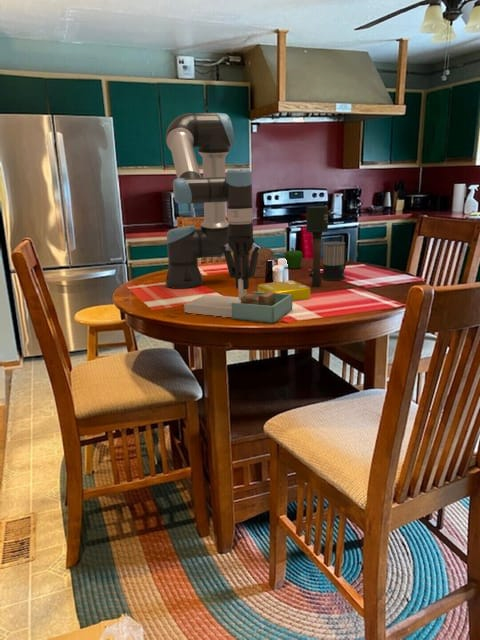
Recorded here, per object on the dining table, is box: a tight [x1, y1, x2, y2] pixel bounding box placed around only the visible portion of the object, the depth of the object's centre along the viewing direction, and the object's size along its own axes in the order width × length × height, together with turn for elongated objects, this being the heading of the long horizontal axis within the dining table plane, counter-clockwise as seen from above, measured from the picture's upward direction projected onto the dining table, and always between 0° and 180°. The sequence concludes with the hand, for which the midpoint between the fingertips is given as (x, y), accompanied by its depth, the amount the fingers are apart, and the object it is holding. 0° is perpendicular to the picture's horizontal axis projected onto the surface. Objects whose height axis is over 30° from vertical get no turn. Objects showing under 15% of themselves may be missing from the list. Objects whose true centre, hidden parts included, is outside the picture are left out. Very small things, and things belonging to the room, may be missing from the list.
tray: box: [231, 291, 293, 324], centre depth 147 cm, size 14×16×5 cm
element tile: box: [257, 280, 311, 302], centre depth 169 cm, size 15×15×5 cm
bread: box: [232, 246, 275, 278], centre depth 217 cm, size 17×29×11 cm, turn 171°
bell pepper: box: [284, 247, 303, 270], centre depth 222 cm, size 8×8×10 cm
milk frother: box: [309, 241, 348, 281], centre depth 198 cm, size 14×16×15 cm
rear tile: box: [241, 293, 259, 305], centre depth 148 cm, size 6×6×3 cm
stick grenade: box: [305, 205, 330, 288], centre depth 180 cm, size 8×9×30 cm
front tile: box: [258, 292, 275, 306], centre depth 146 cm, size 6×6×3 cm
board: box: [183, 294, 241, 318], centre depth 154 cm, size 17×14×3 cm
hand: (242, 299), depth 149 cm, fingers closed
